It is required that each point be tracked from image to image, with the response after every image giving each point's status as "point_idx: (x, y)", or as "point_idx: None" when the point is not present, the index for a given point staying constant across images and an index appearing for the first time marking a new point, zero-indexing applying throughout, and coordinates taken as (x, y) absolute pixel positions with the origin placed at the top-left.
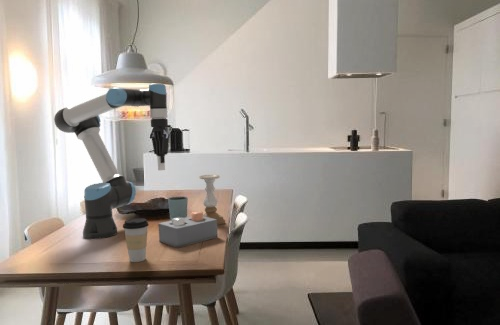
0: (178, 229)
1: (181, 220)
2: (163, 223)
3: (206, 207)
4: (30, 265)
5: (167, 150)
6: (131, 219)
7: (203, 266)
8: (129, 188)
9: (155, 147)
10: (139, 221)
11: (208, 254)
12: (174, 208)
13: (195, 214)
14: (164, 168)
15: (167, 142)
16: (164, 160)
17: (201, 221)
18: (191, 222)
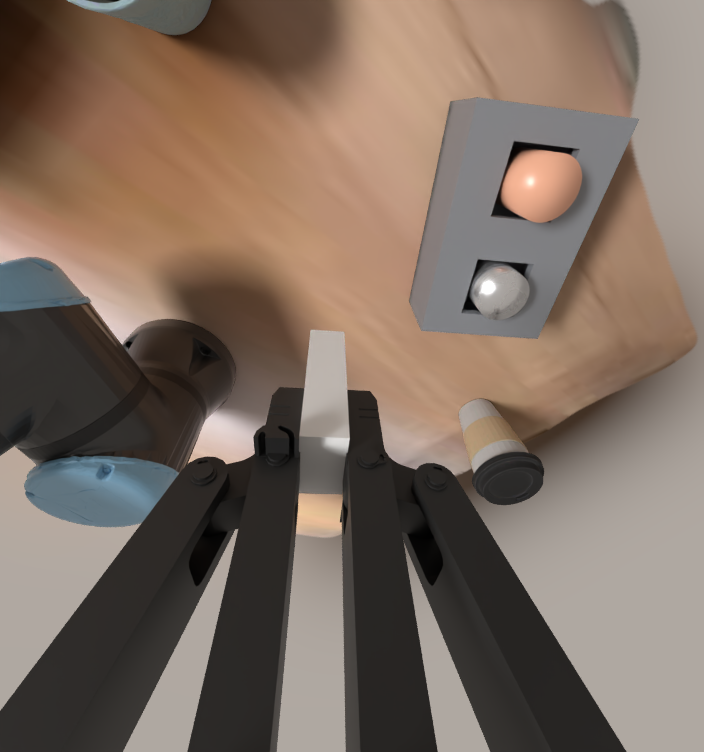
0: (538, 330)
1: (525, 298)
2: (440, 321)
3: None
4: (321, 515)
5: (483, 525)
6: (489, 486)
7: (655, 358)
8: (36, 330)
9: (183, 614)
10: (530, 486)
11: (633, 294)
12: (164, 8)
13: (556, 217)
14: (343, 343)
15: (595, 730)
16: (377, 412)
17: (575, 204)
18: (539, 245)
